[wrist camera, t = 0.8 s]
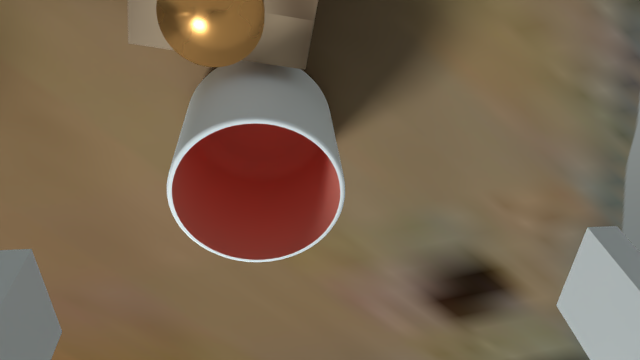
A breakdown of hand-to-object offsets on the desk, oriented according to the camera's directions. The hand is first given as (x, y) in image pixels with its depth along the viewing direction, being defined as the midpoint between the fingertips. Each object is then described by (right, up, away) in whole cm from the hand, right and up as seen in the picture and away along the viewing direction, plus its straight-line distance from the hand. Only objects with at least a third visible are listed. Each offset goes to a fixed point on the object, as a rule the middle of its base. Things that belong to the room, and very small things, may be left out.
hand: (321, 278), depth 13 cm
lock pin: (-5, +16, +18) cm, 25 cm away
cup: (-4, +7, +25) cm, 26 cm away
